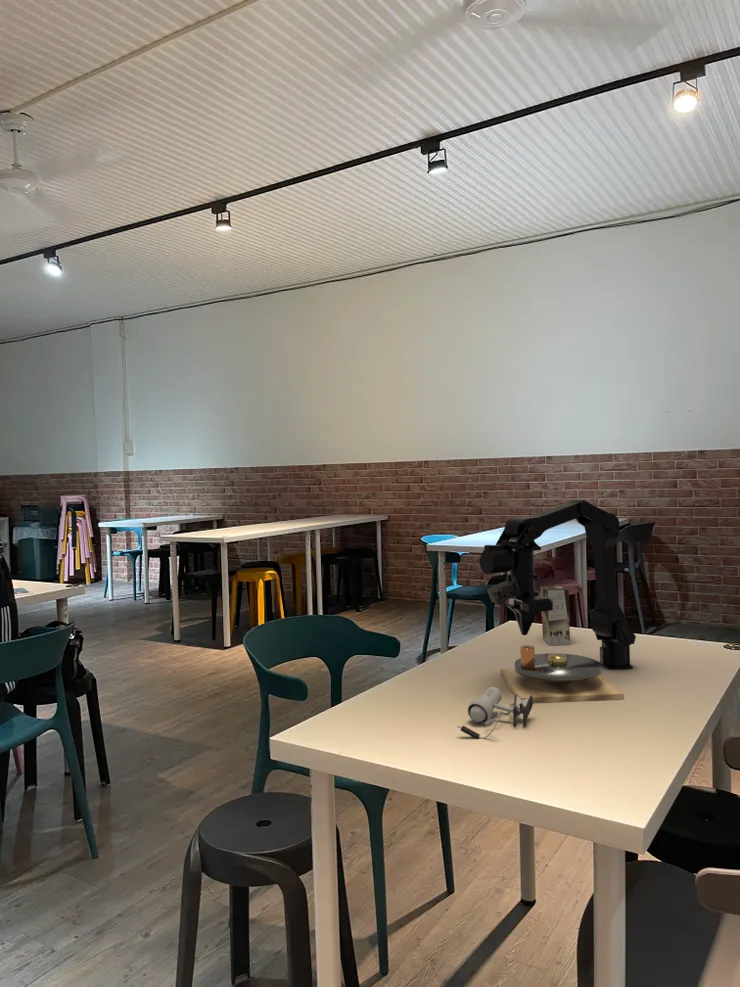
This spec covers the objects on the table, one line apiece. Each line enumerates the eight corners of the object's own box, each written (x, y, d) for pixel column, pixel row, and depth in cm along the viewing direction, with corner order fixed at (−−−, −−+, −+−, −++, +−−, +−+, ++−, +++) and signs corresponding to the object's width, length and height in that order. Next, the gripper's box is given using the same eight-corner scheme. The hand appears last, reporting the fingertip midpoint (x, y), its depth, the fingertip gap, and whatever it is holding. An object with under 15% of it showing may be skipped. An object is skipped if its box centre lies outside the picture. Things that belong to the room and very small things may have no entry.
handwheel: (569, 654, 186) (568, 630, 185) (620, 674, 167) (619, 647, 167) (499, 664, 179) (498, 639, 179) (544, 686, 160) (543, 658, 160)
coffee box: (571, 645, 212) (569, 589, 211) (548, 645, 212) (547, 590, 211) (563, 637, 221) (561, 584, 220) (542, 638, 221) (540, 585, 220)
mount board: (591, 670, 185) (590, 656, 185) (623, 699, 162) (623, 682, 162) (500, 674, 184) (500, 659, 184) (520, 703, 162) (519, 686, 161)
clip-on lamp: (503, 760, 139) (538, 712, 153) (502, 731, 137) (537, 685, 151) (448, 743, 145) (486, 698, 159) (446, 715, 143) (485, 672, 158)
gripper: (475, 568, 182) (477, 630, 183) (508, 578, 164) (510, 647, 165) (516, 564, 185) (518, 625, 185) (553, 574, 167) (555, 642, 167)
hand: (524, 634), depth 176 cm, fingers closed
